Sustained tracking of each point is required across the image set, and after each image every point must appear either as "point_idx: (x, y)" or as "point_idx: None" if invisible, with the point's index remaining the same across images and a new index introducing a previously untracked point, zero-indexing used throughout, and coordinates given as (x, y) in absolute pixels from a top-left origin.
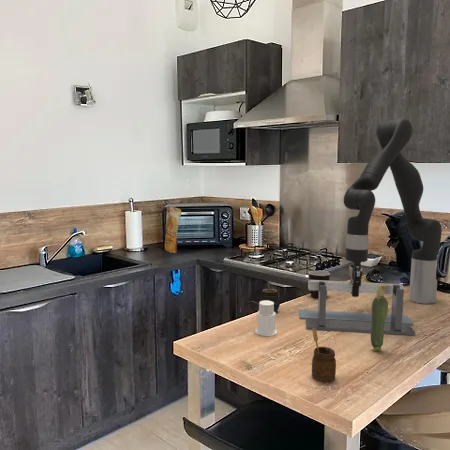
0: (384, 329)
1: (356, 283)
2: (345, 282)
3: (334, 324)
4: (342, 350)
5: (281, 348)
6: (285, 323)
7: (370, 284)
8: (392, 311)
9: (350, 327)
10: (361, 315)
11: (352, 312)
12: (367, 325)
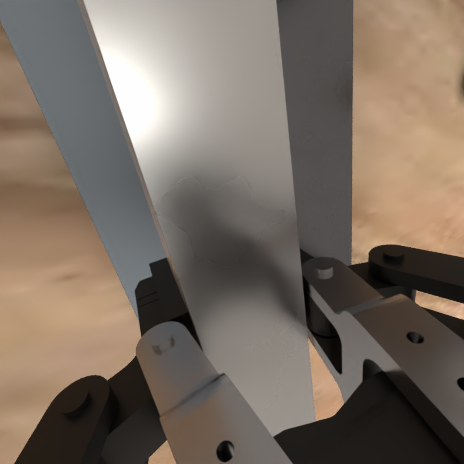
0: (336, 33)
1: (414, 295)
2: (274, 409)
3: (321, 252)
4: (459, 181)
5: (443, 300)
6: (312, 370)
7: (273, 132)
8: None
9: (339, 191)
10: (135, 171)
11: (101, 229)
12: (303, 123)
